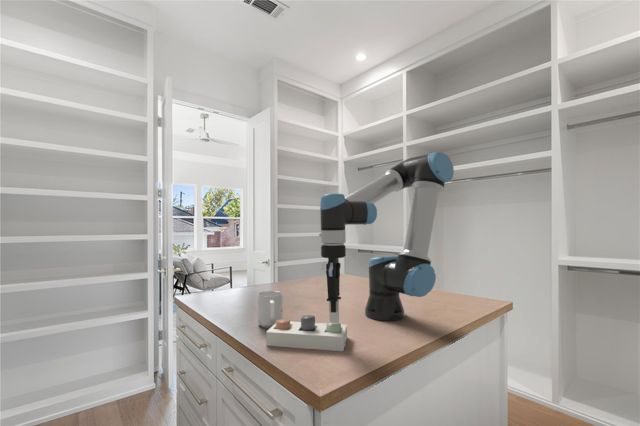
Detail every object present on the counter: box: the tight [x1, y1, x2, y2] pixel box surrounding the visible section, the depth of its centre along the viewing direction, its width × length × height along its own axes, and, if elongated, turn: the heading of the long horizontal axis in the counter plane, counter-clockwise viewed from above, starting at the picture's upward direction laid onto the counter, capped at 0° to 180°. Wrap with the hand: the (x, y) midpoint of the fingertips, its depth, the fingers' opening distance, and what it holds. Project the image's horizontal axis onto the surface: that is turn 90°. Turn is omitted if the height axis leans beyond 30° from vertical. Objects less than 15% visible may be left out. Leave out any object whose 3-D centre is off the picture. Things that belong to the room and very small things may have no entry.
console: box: [265, 320, 348, 352], centre depth 95 cm, size 23×11×4 cm, turn 79°
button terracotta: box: [276, 318, 291, 330], centre depth 97 cm, size 4×4×4 cm
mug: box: [257, 290, 284, 329], centre depth 110 cm, size 12×9×11 cm
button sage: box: [326, 322, 342, 333], centre depth 94 cm, size 4×4×4 cm
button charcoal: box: [300, 314, 316, 332], centre depth 95 cm, size 4×4×4 cm
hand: (334, 321), depth 94 cm, fingers closed
